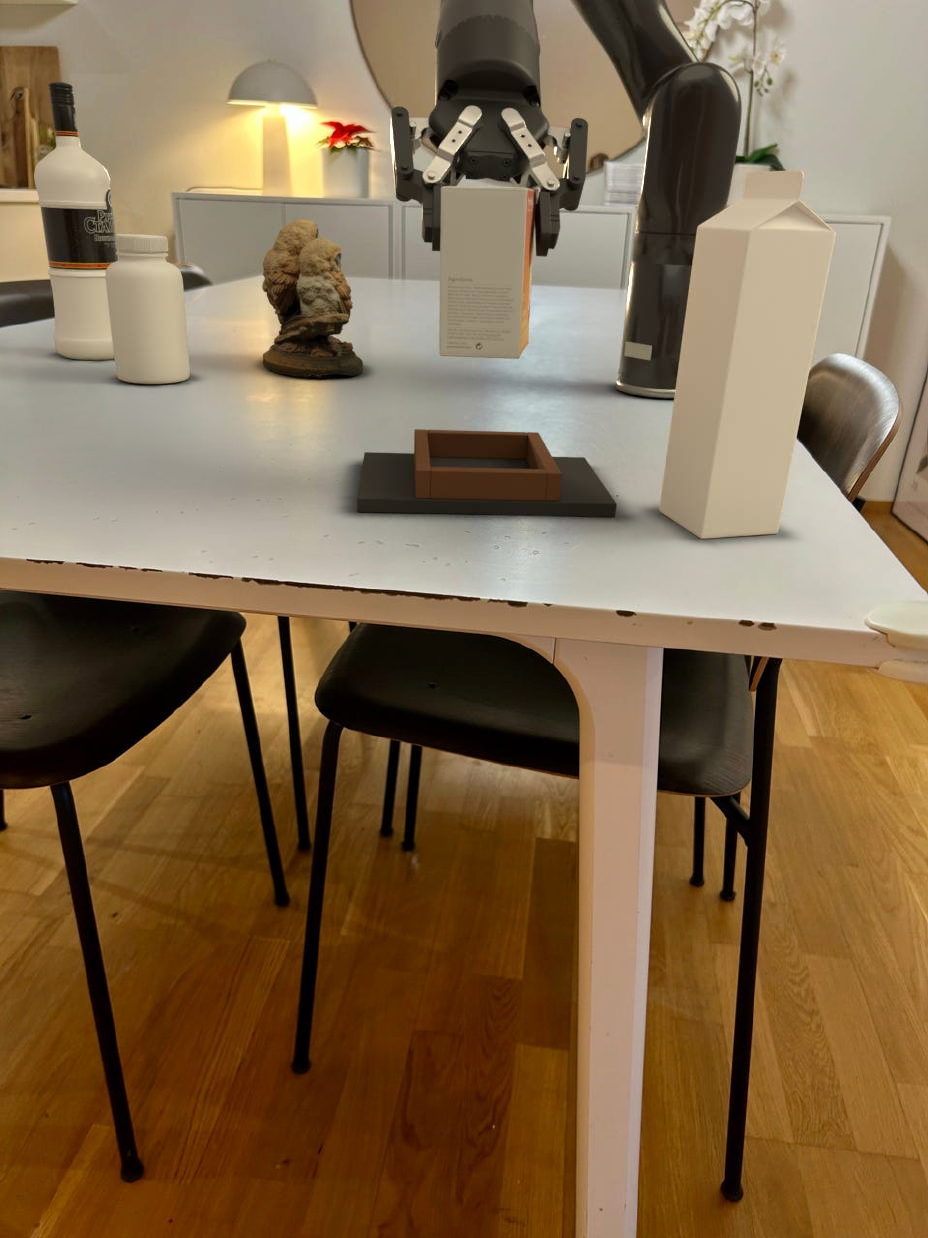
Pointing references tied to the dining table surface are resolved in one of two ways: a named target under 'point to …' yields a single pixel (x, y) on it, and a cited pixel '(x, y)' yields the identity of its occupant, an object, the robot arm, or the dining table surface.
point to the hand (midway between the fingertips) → (490, 244)
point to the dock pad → (481, 477)
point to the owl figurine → (308, 304)
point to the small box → (486, 270)
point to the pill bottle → (147, 312)
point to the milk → (745, 359)
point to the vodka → (76, 236)
